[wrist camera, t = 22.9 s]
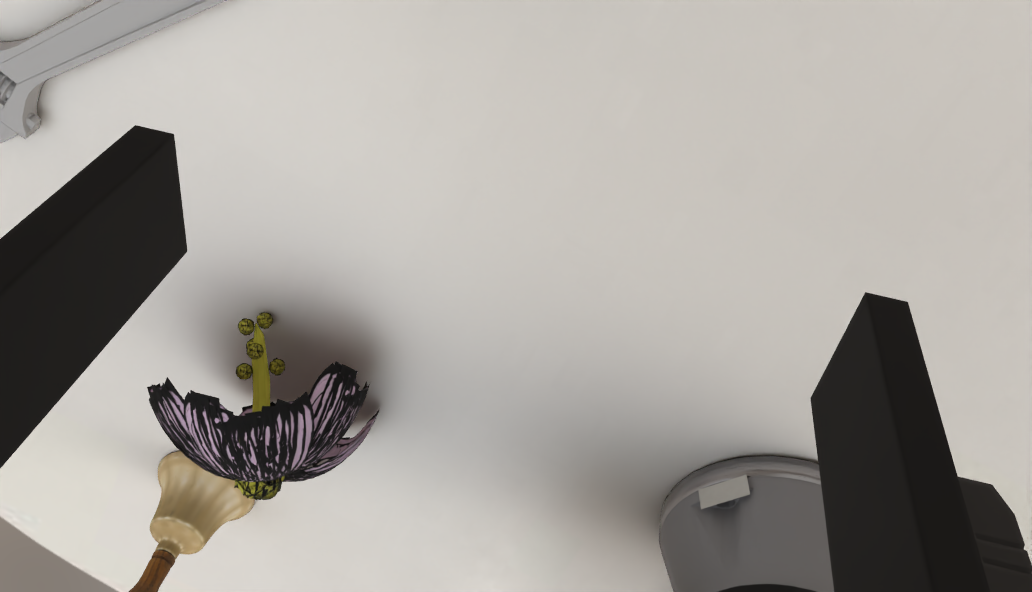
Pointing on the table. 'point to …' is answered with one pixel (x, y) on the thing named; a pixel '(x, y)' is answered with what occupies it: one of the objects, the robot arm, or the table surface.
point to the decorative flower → (265, 424)
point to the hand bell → (188, 514)
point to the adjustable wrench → (76, 50)
